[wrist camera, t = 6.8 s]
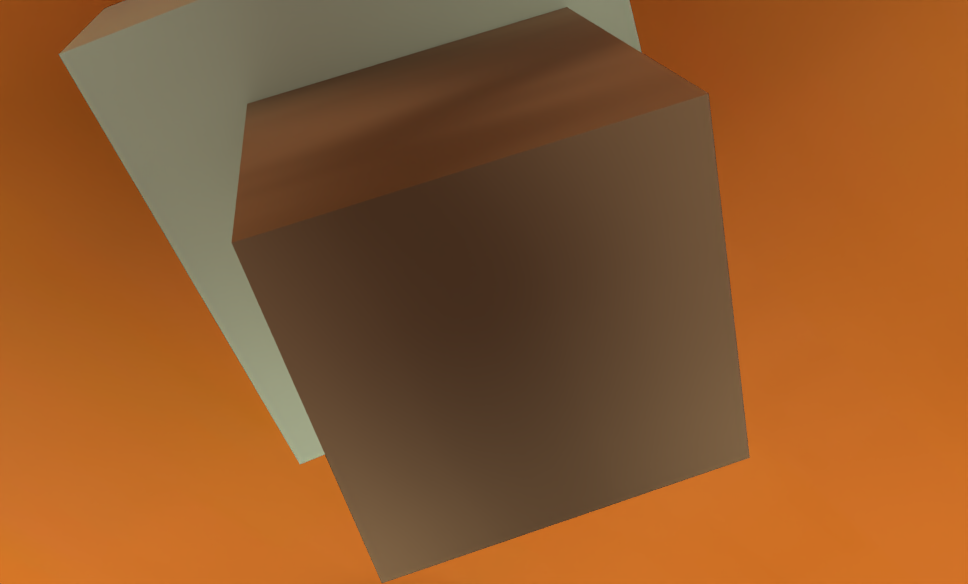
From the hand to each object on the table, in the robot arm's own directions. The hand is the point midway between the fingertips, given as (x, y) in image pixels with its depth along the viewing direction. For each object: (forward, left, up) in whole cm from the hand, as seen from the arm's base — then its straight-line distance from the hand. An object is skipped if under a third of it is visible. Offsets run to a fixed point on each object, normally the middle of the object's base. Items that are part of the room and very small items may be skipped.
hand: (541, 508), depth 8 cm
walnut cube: (0, 0, -8) cm, 8 cm away
